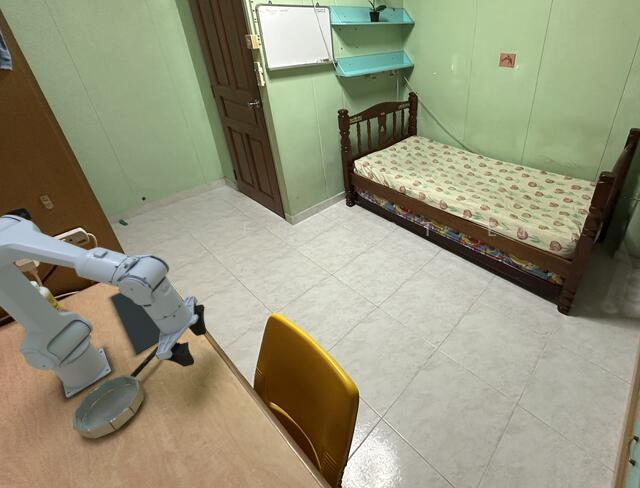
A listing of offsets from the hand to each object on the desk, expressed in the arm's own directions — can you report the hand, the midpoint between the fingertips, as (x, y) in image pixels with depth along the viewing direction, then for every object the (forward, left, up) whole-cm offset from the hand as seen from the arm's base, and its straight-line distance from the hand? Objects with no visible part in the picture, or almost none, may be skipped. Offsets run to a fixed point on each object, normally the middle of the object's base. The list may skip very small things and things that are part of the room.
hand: (195, 348), depth 71 cm
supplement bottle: (-50, -23, -11) cm, 56 cm away
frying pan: (-9, -13, -10) cm, 19 cm away
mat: (-33, -6, -10) cm, 35 cm away
